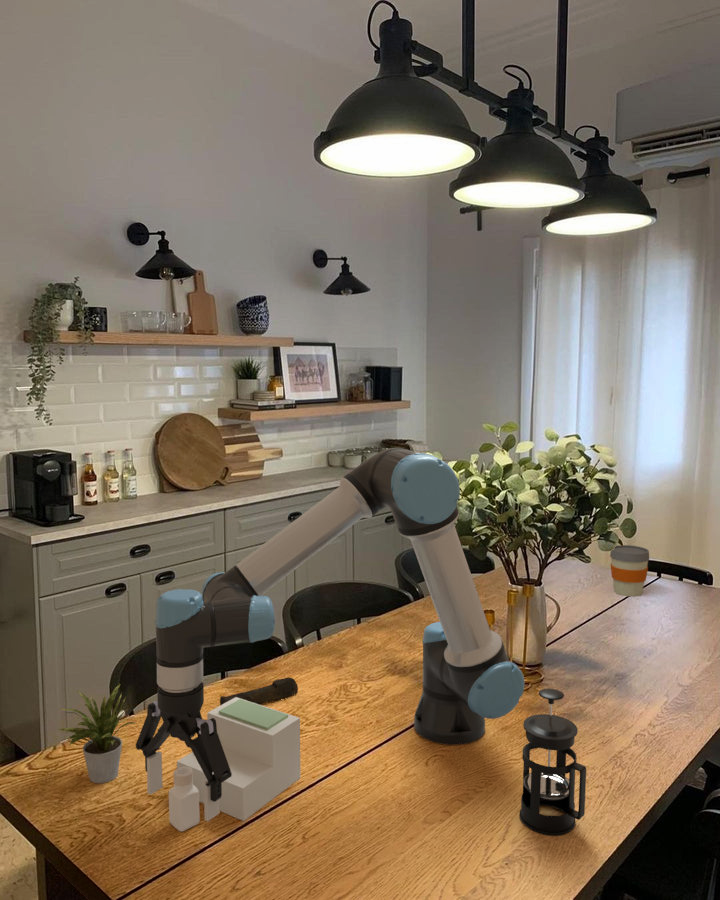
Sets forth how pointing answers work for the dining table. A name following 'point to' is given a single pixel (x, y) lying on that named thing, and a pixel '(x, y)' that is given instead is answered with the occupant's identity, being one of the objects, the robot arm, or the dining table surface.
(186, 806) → the white square bottle
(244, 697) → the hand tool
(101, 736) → the house plant
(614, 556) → the reusable coffee cup
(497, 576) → the dining table surface
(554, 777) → the french press
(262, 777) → the stepped riser
